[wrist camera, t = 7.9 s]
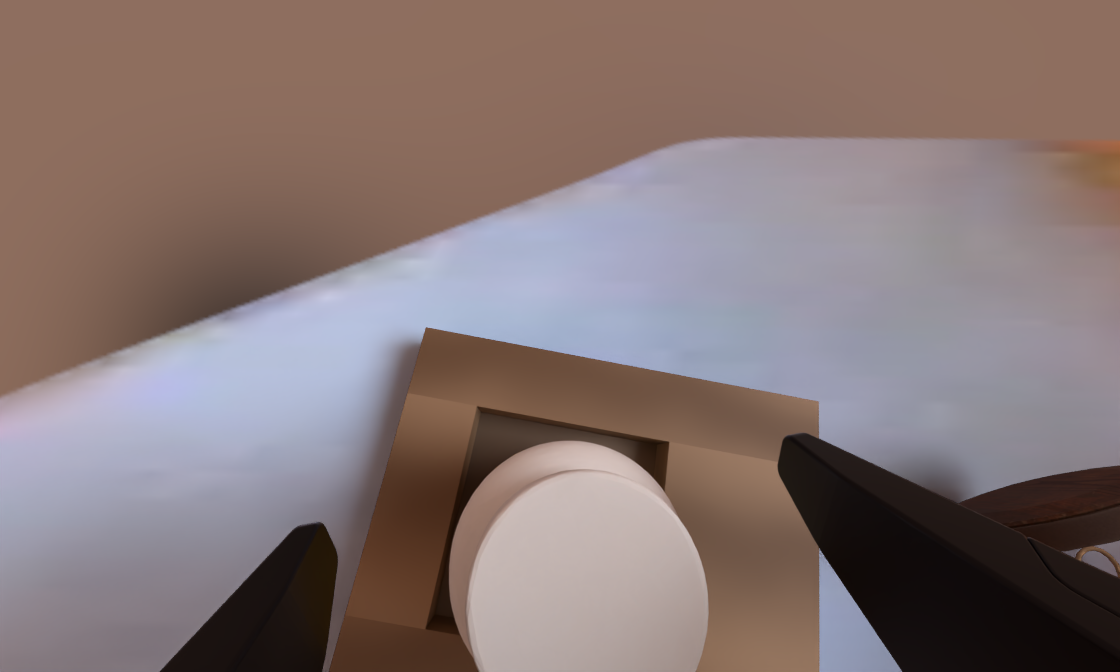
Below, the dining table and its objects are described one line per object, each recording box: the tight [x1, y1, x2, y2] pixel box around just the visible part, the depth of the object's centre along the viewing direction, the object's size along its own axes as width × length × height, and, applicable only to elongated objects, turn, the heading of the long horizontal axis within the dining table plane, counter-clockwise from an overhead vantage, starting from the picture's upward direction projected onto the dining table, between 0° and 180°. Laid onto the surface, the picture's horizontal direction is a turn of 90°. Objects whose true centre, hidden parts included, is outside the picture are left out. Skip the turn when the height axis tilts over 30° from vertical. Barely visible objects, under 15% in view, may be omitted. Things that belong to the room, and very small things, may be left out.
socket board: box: [329, 327, 819, 672], centre depth 16 cm, size 13×15×2 cm
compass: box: [958, 466, 1120, 578], centre depth 14 cm, size 8×8×7 cm
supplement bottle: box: [449, 441, 709, 672], centre depth 12 cm, size 5×5×10 cm
